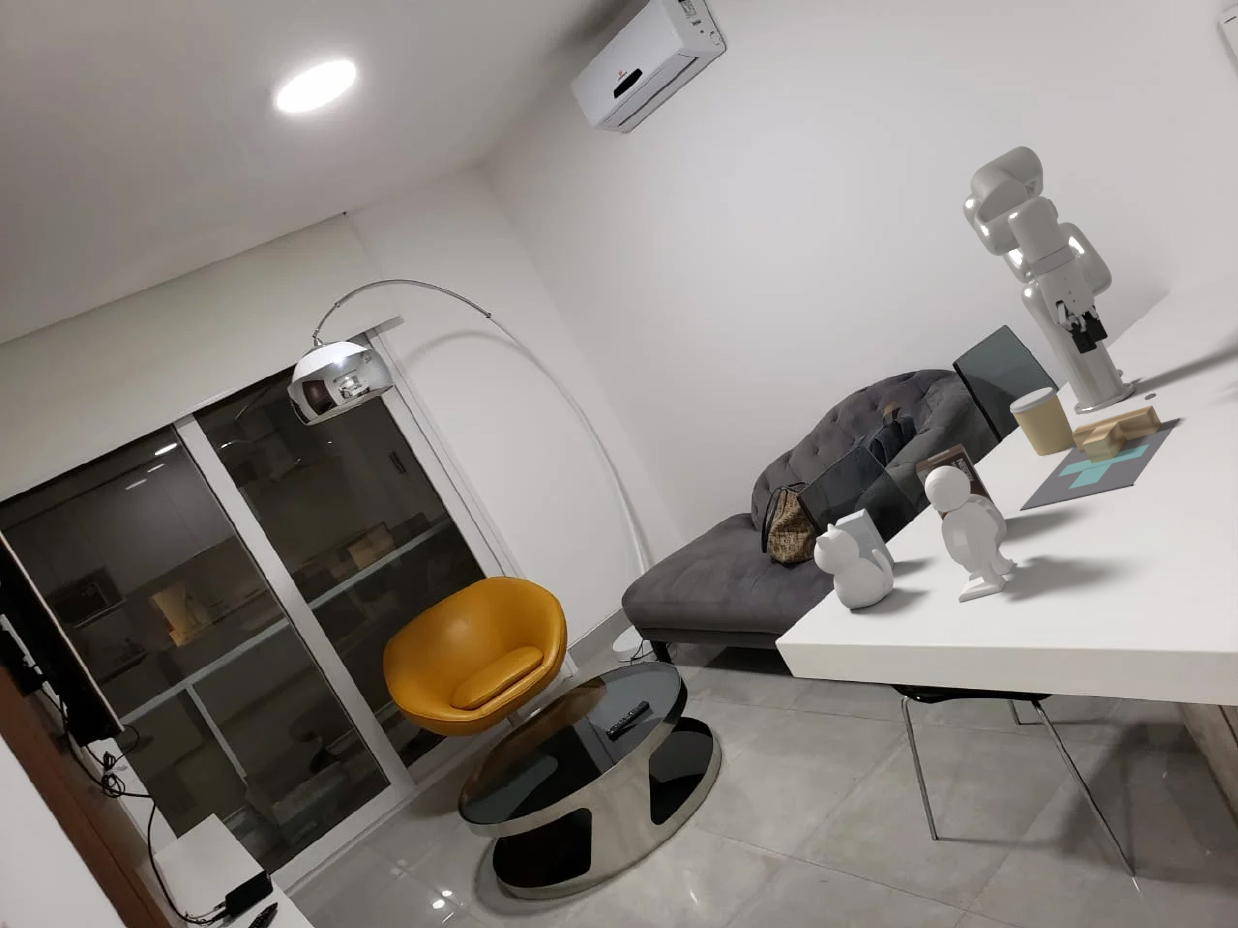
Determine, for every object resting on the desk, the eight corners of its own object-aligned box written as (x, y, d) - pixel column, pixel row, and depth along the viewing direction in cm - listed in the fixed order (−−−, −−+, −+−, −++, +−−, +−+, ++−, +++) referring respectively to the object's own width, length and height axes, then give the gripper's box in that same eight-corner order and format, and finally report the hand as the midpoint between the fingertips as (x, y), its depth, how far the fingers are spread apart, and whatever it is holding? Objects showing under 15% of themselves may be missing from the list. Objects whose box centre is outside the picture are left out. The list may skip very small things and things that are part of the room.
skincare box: (895, 561, 170) (866, 507, 169) (892, 570, 166) (863, 514, 165) (866, 572, 173) (837, 519, 172) (863, 581, 169) (833, 526, 168)
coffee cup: (1069, 435, 187) (1043, 385, 187) (1088, 439, 178) (1061, 387, 177) (1027, 456, 189) (1002, 406, 188) (1044, 461, 180) (1017, 409, 179)
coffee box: (1003, 518, 162) (962, 441, 160) (1006, 529, 156) (965, 449, 154) (954, 538, 165) (914, 463, 164) (956, 550, 159) (915, 471, 158)
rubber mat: (1075, 447, 178) (1074, 446, 178) (1181, 419, 162) (1180, 417, 162) (1020, 510, 161) (1019, 509, 161) (1133, 485, 145) (1132, 484, 145)
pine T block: (1087, 444, 175) (1078, 426, 174) (1161, 424, 164) (1152, 405, 163) (1065, 470, 167) (1056, 451, 167) (1141, 450, 156) (1131, 431, 156)
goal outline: (1068, 466, 169) (1067, 465, 169) (1150, 445, 158) (1149, 444, 157) (1042, 496, 162) (1041, 495, 162) (1127, 477, 150) (1126, 475, 150)
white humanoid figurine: (977, 567, 147) (922, 461, 145) (1031, 553, 141) (973, 443, 139) (956, 608, 136) (896, 494, 135) (1012, 594, 130) (950, 476, 129)
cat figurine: (850, 596, 165) (813, 526, 164) (911, 579, 157) (872, 506, 156) (834, 620, 158) (795, 547, 157) (897, 603, 150) (856, 526, 149)
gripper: (1050, 258, 179) (1090, 338, 180) (1017, 283, 168) (1059, 367, 169) (1087, 242, 173) (1128, 324, 174) (1054, 267, 162) (1098, 354, 164)
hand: (1094, 344), depth 172 cm, fingers open, 5 cm apart
